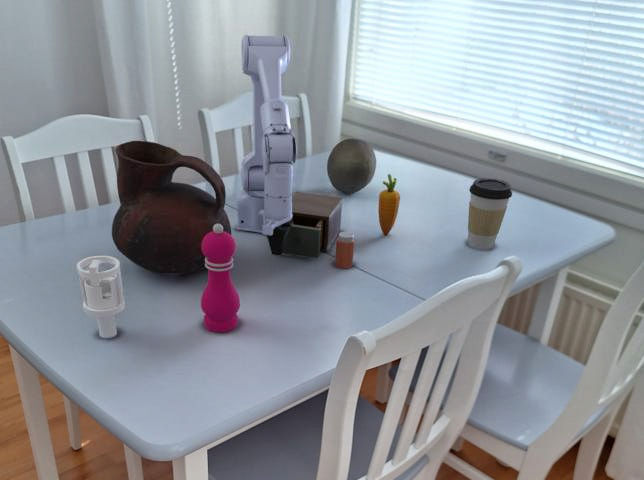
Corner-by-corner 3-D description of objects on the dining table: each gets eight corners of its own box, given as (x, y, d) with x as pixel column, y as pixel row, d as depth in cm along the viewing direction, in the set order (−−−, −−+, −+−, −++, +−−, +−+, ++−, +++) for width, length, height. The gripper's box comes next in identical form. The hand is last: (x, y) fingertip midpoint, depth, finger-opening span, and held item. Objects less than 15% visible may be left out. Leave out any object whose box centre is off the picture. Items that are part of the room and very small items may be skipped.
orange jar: (333, 266, 149) (335, 236, 145) (337, 259, 152) (339, 230, 148) (350, 269, 148) (353, 239, 144) (354, 262, 151) (356, 232, 148)
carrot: (394, 240, 163) (401, 180, 155) (374, 238, 164) (380, 177, 155) (396, 233, 167) (403, 173, 159) (376, 230, 168) (382, 171, 159)
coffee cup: (504, 241, 165) (517, 181, 157) (496, 255, 158) (509, 194, 149) (465, 233, 168) (475, 174, 160) (455, 247, 161) (466, 186, 153)
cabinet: (326, 252, 156) (329, 217, 151) (279, 245, 158) (280, 210, 153) (340, 231, 167) (342, 197, 162) (295, 224, 169) (296, 191, 164)
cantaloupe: (315, 194, 189) (317, 140, 180) (341, 181, 198) (345, 130, 190) (358, 205, 182) (362, 150, 174) (383, 192, 192) (389, 139, 184)
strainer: (83, 343, 119) (70, 266, 110) (93, 323, 124) (82, 248, 116) (123, 344, 119) (113, 267, 110) (131, 324, 125) (123, 250, 116)
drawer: (316, 260, 149) (318, 232, 145) (272, 254, 151) (272, 225, 148) (331, 238, 160) (332, 211, 157) (289, 232, 162) (290, 205, 159)
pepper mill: (202, 315, 129) (197, 216, 118) (240, 314, 129) (238, 216, 118) (200, 334, 123) (195, 232, 112) (240, 334, 123) (238, 232, 112)
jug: (200, 300, 134) (193, 177, 120) (93, 276, 140) (75, 157, 127) (251, 253, 153) (250, 142, 140) (155, 234, 160) (145, 127, 146)
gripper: (270, 180, 145) (270, 239, 152) (248, 202, 133) (248, 264, 140) (302, 184, 143) (299, 243, 151) (281, 207, 131) (280, 269, 139)
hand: (277, 254), depth 145 cm, fingers closed
